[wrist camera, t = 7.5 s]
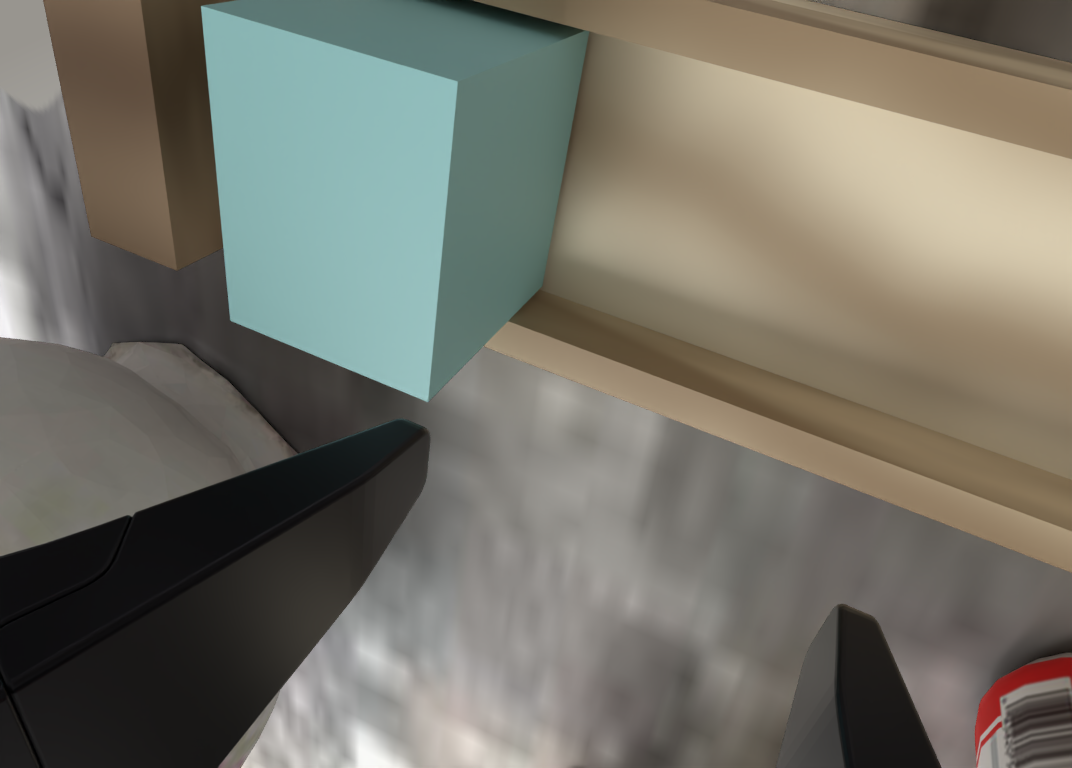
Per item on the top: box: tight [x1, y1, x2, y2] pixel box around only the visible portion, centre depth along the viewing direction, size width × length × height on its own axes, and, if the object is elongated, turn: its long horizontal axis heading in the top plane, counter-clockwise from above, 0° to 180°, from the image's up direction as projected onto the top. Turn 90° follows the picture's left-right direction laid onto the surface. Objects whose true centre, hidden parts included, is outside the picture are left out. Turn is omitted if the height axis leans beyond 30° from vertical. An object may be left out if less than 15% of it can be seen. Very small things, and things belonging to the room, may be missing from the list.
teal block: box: [201, 0, 589, 402], centre depth 17 cm, size 6×5×6 cm
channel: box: [43, 0, 1072, 573], centre depth 17 cm, size 9×28×5 cm, turn 80°
